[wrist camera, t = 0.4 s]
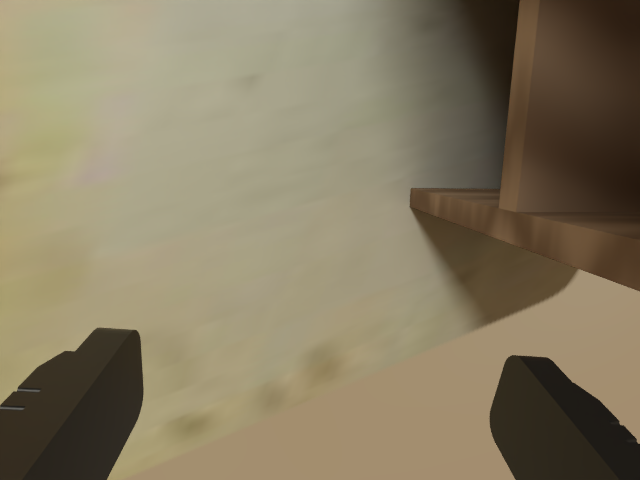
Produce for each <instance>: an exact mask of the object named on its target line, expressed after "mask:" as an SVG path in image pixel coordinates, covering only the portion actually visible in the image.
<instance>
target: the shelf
mask: <svg viewBox="0 0 640 480" xmlns="http://www.w3.org/2000/svg"><path fill="white" fill-rule="evenodd" d="M410 207H412V208H415V209H417V210H420V211H423V212H426V213H428V214H431V215H434V216H436V217H439V218H442V219H445V220H447V221H450V222H453V223H455V224H458V225H461V226H464V227H466V228H469V229H472V230H475V231H477V232H480V233H483V234H485V235H488V236H491V237H494V238H496V239H499V240H502V241H504V242H507V243H510V244H513V245H515V246H518V247H521V248H524V249H526V250H529V251H532V252H534V253H537V254H540V255H543V256H545V257H548V258H551V259H553V260H556V261H559V262H562V263H564V264H567V265H570V266H572V267H575V268H578V269H581V270H583V271H586V272H589V273H592V274H594V275H597V276H600V277H603V278H606V279H608V280H611V281H613V282H616V283H619V284H621V285H624V286H627V287H630V288H632V289H635V290H638V291H640V0H520V3H519V13H518V22H517V32H516V42H515V52H514V62H513V71H512V81H511V91H510V101H509V111H508V120H507V130H506V140H505V150H504V160H503V169H502V179H501V189H439V188H411V194H410Z"/></svg>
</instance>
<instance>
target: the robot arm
mask: <svg viewBox="0 0 640 480" xmlns="http://www.w3.org/2000/svg"><path fill="white" fill-rule="evenodd" d="M142 401H143V373H142V357H141V341H140V335H139V333H138V331H137V330H127V329H111V328H97V329H95V330H94V331H93V332H92V333H91V334H90V335H89V337H88V338H87V339H86V340H85V341H84V342H83V343H82V344H81V345H80V347H79V348H78V349H77V350H76V351H75V352H74V351H64V352H63V353H61V354H59V355H57V356H56V357H54V358H52V359H51V360H49V361H47V362H46V363H44V364H42V365H40V366H39V367H37V368H36V369H35V370H34V371H33V372H32V373H31V374H30V376H29V377H28V378H27V379H26V380H25V381H24V382H23V383H22V384H21V385H20V386H19V387H18V390H17V392H13V393H12V394H11V395H10V396H9V397H8V398H7V399H6V400H5V401H4V402H3V403H2V404H1V405H0V480H107V478H108V476H109V474H110V472H111V470H112V468H113V466H114V464H115V462H116V461H117V459H118V457H119V455H120V453H121V451H122V449H123V447H124V445H125V443H126V441H127V439H128V437H129V435H130V433H131V431H132V430H133V428H134V426H135V424H136V422H137V419H138V417H139V414H140V410H141V406H142ZM490 428H491V432H492V435H493V438H494V441H495V443H496V445H497V446H498V448H499V450H500V452H501V453H502V456H503V457H504V459H505V461H506V463H507V465H508V467H509V468H510V470H511V472H512V474H513V476H514V477H515V479H516V480H640V444H638V443H637V439H636V438H635V437H634V436H633V435H632V434H631V433H630V432H629V431H628V430H627V429H626V428H625V427H624V426H622V425H620V424H619V420H618V419H617V418H616V417H615V416H614V415H613V414H612V413H611V412H610V411H609V410H608V409H607V408H606V407H605V406H604V405H603V404H602V403H601V402H600V401H599V400H598V399H596V398H595V397H594V396H592V395H591V394H589V393H588V392H586V391H585V390H583V389H582V388H581V387H579V386H578V385H576V384H575V383H572V382H571V380H570V379H569V378H568V377H567V376H566V375H565V374H564V373H563V372H562V371H561V370H560V369H559V367H557V366H556V364H555V363H554V362H553V361H552V360H550V359H549V358H546V357H531V356H516V355H512V356H510V357H508V359H507V360H506V362H505V364H504V367H503V371H502V374H501V378H500V381H499V385H498V387H497V391H496V394H495V397H494V400H493V404H492V407H491V411H490Z"/></svg>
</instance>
